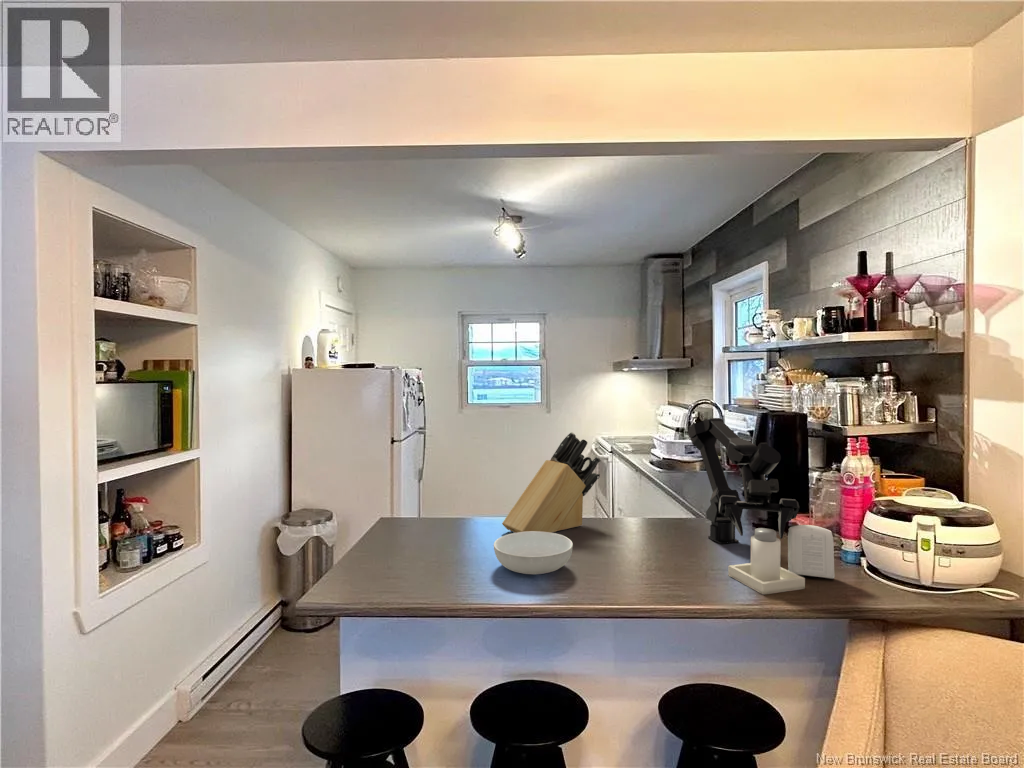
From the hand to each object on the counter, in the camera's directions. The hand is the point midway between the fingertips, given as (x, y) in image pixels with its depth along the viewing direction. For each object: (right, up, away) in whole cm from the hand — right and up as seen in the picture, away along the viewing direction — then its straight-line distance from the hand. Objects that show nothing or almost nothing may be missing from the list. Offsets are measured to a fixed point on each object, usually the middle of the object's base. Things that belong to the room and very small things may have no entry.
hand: (761, 536), depth 133 cm
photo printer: (+12, -10, -1) cm, 16 cm away
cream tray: (-1, -10, -3) cm, 11 cm away
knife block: (-49, -10, +43) cm, 66 cm away
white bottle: (-1, -10, -3) cm, 10 cm away
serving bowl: (-58, -11, +6) cm, 59 cm away
